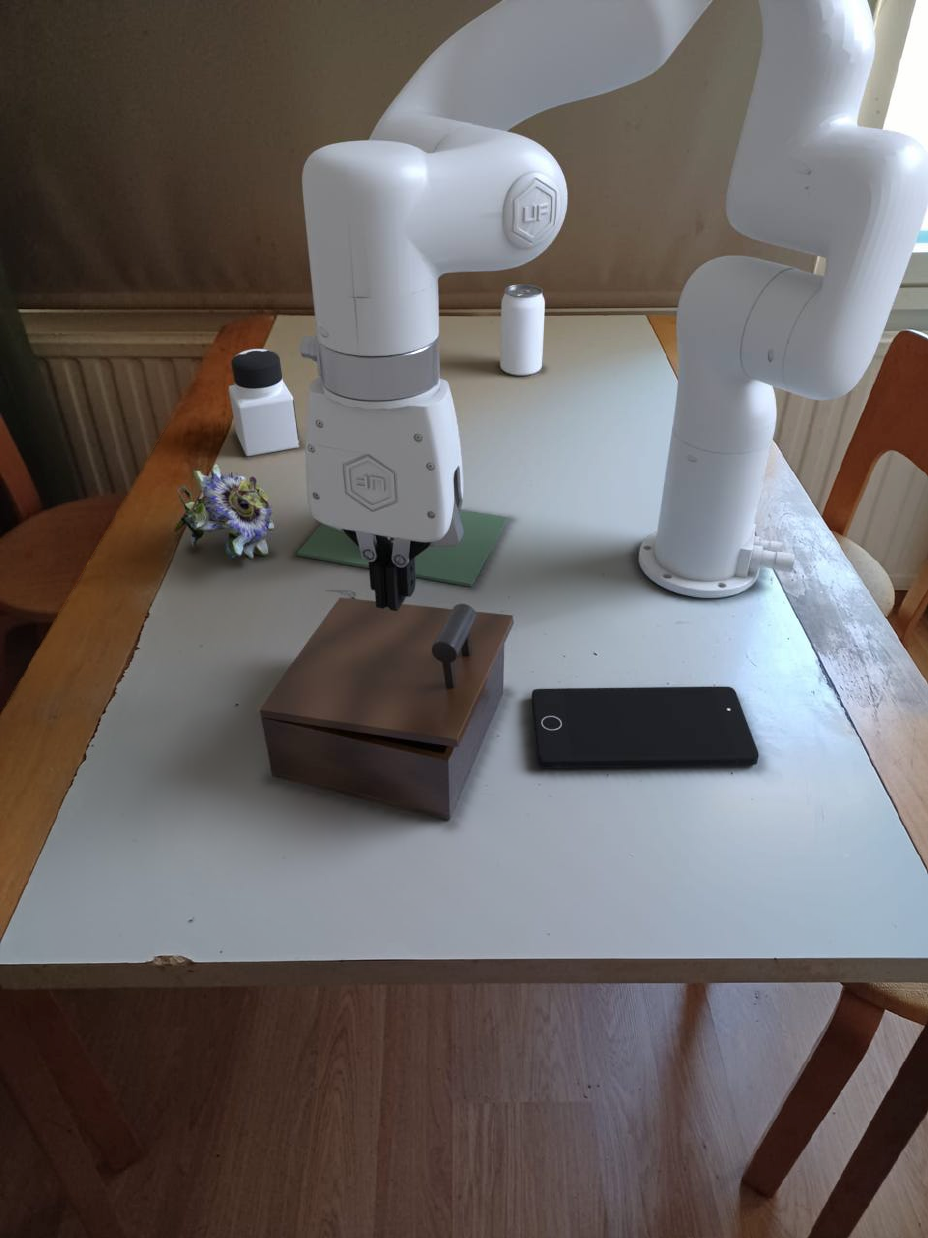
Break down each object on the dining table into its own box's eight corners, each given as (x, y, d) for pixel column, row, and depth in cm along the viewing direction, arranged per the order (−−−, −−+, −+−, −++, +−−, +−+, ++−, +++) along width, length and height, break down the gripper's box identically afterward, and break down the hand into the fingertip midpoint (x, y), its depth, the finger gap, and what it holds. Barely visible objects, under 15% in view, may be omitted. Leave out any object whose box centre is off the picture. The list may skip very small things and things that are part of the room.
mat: (507, 520, 105) (507, 517, 105) (471, 587, 94) (471, 584, 94) (348, 494, 110) (347, 491, 110) (297, 555, 99) (296, 552, 99)
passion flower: (267, 593, 103) (261, 555, 92) (168, 579, 102) (151, 539, 90) (281, 502, 106) (278, 455, 95) (187, 489, 105) (172, 439, 94)
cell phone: (530, 696, 81) (531, 688, 80) (732, 693, 81) (734, 685, 80) (538, 769, 74) (538, 761, 73) (758, 766, 74) (761, 758, 73)
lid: (514, 622, 76) (509, 569, 73) (458, 747, 65) (450, 691, 62) (341, 604, 81) (330, 554, 78) (260, 717, 69) (244, 663, 66)
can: (494, 363, 142) (495, 285, 135) (533, 358, 144) (536, 281, 136) (508, 379, 137) (510, 299, 130) (548, 373, 139) (552, 294, 132)
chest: (503, 693, 81) (504, 636, 77) (449, 820, 70) (448, 761, 66) (347, 661, 85) (340, 604, 81) (272, 777, 73) (260, 717, 69)
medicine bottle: (300, 448, 120) (289, 360, 112) (246, 457, 118) (231, 368, 110) (288, 426, 125) (276, 340, 118) (236, 434, 123) (221, 348, 116)
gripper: (245, 371, 56) (281, 609, 67) (475, 402, 52) (474, 648, 64) (298, 331, 62) (324, 556, 73) (510, 355, 58) (503, 589, 69)
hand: (393, 598), depth 68 cm, fingers closed
